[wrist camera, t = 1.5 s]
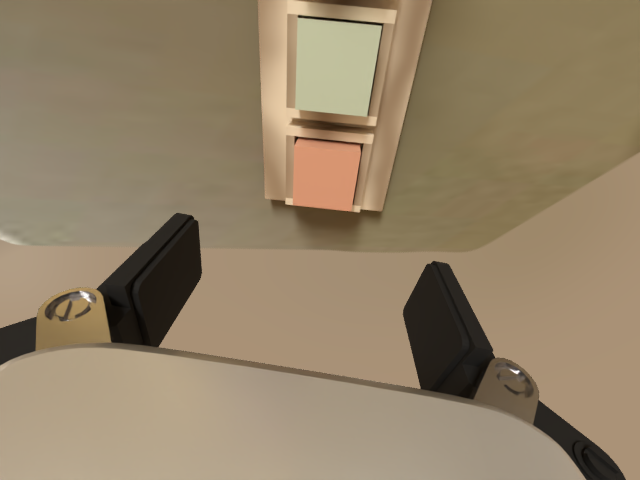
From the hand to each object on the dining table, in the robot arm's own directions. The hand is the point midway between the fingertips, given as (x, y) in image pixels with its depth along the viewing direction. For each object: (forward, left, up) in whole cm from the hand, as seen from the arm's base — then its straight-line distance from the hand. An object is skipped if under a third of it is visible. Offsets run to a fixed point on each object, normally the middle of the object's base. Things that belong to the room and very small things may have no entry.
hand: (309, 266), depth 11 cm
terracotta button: (0, +3, -19) cm, 20 cm away
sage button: (0, -6, -19) cm, 20 cm away
